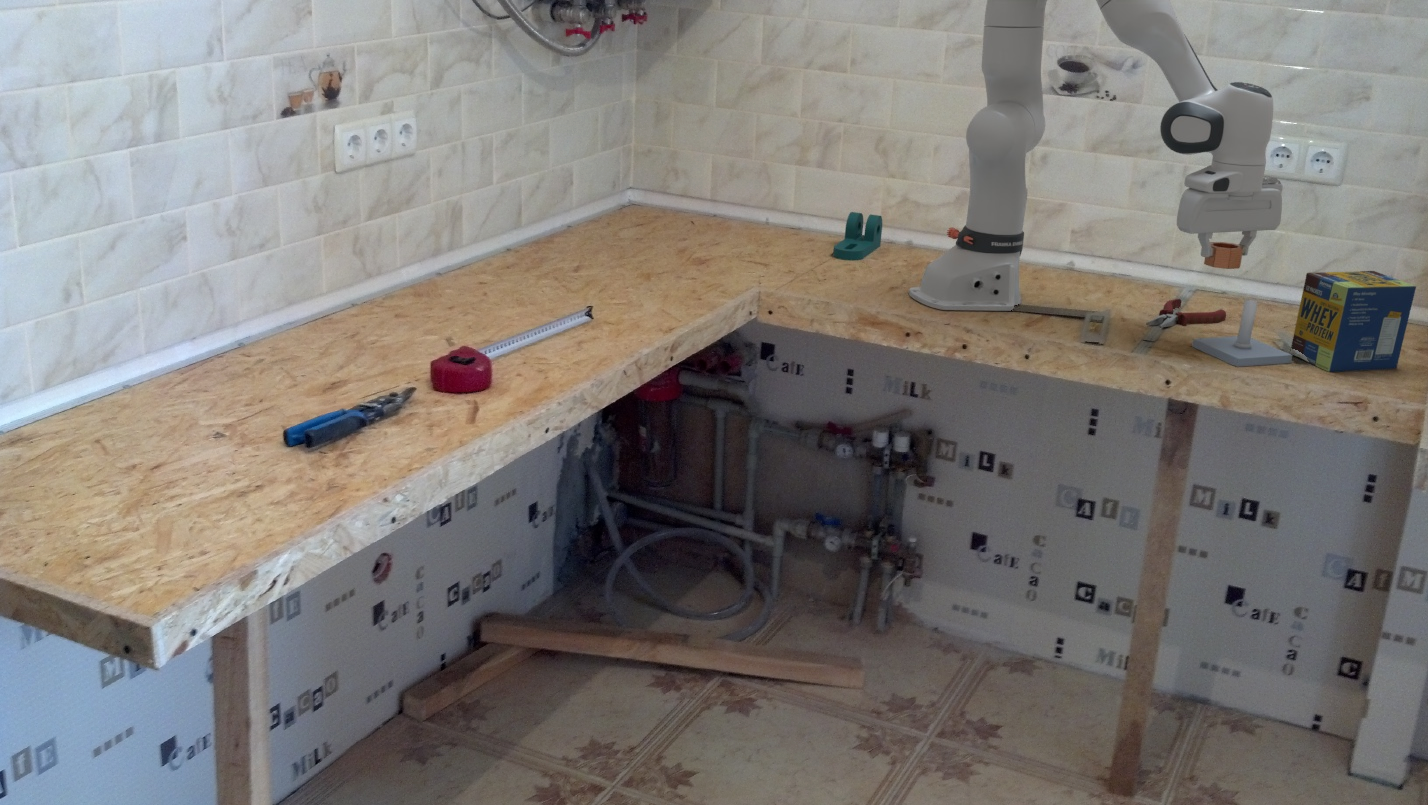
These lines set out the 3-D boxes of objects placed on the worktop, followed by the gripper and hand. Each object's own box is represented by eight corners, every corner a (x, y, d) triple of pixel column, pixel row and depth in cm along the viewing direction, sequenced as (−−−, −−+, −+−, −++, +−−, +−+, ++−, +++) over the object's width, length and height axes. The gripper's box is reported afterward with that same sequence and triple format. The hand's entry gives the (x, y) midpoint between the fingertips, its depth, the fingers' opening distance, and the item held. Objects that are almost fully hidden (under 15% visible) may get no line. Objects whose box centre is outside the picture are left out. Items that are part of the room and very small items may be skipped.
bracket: (851, 243, 315) (855, 209, 312) (880, 247, 313) (883, 213, 310) (829, 258, 299) (832, 223, 296) (858, 262, 297) (862, 227, 294)
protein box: (1287, 354, 248) (1305, 271, 243) (1356, 351, 253) (1374, 270, 247) (1328, 372, 239) (1347, 287, 233) (1398, 369, 243) (1418, 285, 238)
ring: (1219, 269, 240) (1223, 250, 238) (1197, 261, 245) (1200, 242, 244) (1247, 268, 242) (1250, 248, 240) (1224, 260, 247) (1227, 241, 246)
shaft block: (1236, 366, 238) (1247, 311, 235) (1191, 346, 249) (1201, 293, 246) (1290, 363, 243) (1302, 309, 239) (1244, 343, 253) (1254, 291, 250)
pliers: (1124, 324, 263) (1127, 311, 262) (1173, 308, 277) (1175, 296, 276) (1180, 339, 255) (1182, 325, 255) (1227, 322, 269) (1229, 309, 268)
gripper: (1270, 174, 245) (1258, 249, 249) (1177, 176, 238) (1165, 254, 242) (1296, 180, 239) (1282, 257, 243) (1201, 183, 232) (1189, 262, 236)
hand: (1223, 256), depth 243 cm, fingers closed on ring, 6 cm apart
